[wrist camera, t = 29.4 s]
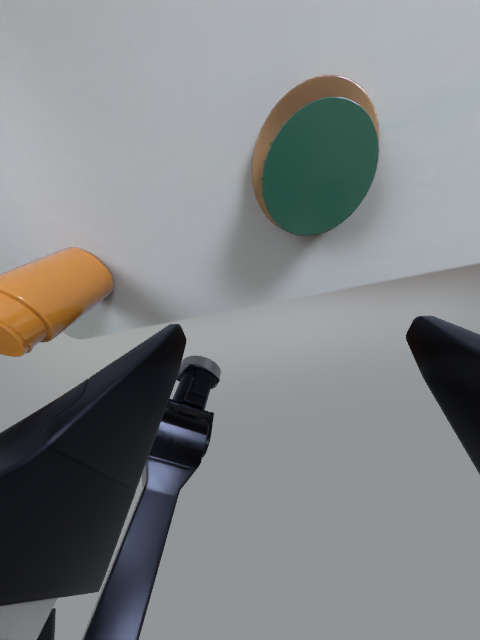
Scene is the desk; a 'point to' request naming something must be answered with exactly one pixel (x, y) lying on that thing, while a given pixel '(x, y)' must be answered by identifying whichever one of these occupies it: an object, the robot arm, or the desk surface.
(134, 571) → the robot arm
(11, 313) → the honey jar
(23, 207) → the desk surface
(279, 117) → the coaster
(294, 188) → the jar lid
